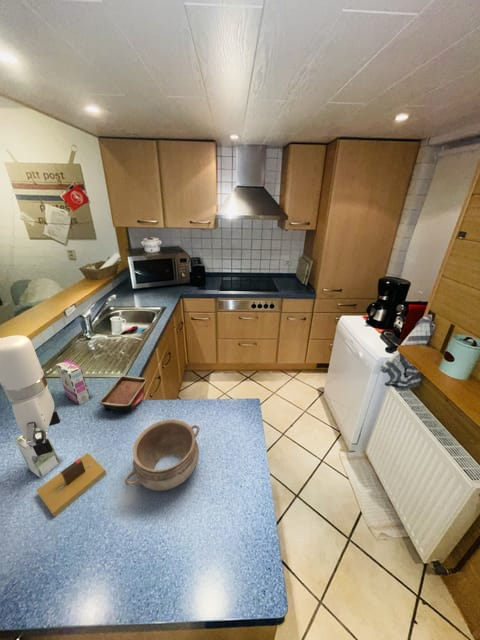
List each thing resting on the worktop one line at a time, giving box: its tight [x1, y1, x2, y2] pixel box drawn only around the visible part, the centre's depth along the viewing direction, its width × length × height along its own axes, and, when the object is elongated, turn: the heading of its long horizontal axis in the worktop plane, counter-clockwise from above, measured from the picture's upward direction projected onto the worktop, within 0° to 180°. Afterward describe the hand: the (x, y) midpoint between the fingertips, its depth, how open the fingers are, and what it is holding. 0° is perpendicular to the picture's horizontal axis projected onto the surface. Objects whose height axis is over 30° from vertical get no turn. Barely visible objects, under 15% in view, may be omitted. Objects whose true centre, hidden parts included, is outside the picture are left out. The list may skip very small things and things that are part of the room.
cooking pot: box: [124, 418, 201, 492], centre depth 75 cm, size 25×19×12 cm
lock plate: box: [36, 452, 107, 518], centre depth 73 cm, size 14×10×3 cm
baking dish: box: [99, 375, 147, 414], centre depth 102 cm, size 14×18×10 cm
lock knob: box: [60, 458, 85, 485], centre depth 72 cm, size 5×2×5 cm, turn 146°
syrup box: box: [14, 428, 60, 478], centre depth 75 cm, size 6×6×14 cm
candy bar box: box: [55, 359, 91, 405], centre depth 103 cm, size 11×5×16 cm, turn 56°
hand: (49, 437), depth 66 cm, fingers open, 9 cm apart
